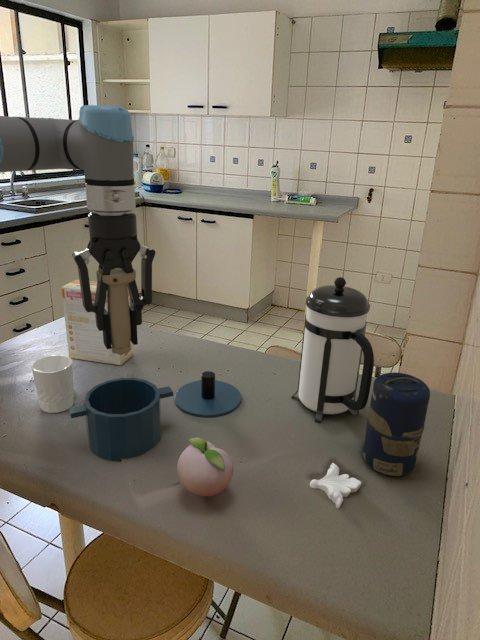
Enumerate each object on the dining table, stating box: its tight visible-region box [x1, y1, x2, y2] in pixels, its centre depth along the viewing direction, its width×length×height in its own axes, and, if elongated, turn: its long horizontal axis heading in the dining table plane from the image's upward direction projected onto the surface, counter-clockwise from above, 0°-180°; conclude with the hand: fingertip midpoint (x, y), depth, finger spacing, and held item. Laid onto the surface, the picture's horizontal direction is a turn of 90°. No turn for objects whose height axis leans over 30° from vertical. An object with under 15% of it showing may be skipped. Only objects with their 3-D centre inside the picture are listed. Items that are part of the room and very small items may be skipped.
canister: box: [362, 372, 431, 477], centre depth 83 cm, size 10×10×18 cm
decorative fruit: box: [176, 437, 235, 497], centre depth 75 cm, size 9×8×10 cm
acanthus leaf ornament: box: [309, 462, 362, 510], centre depth 79 cm, size 8×7×2 cm
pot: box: [68, 377, 174, 462], centre depth 88 cm, size 14×19×10 cm
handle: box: [95, 268, 137, 355], centre depth 81 cm, size 5×6×15 cm
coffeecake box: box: [61, 279, 134, 366], centre depth 118 cm, size 15×7×20 cm, turn 77°
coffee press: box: [291, 276, 375, 424], centre depth 96 cm, size 17×16×30 cm
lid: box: [174, 370, 242, 418], centre depth 102 cm, size 15×15×7 cm
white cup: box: [31, 354, 75, 414], centre depth 98 cm, size 8×8×10 cm
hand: (120, 343), depth 83 cm, fingers closed on handle, 4 cm apart
